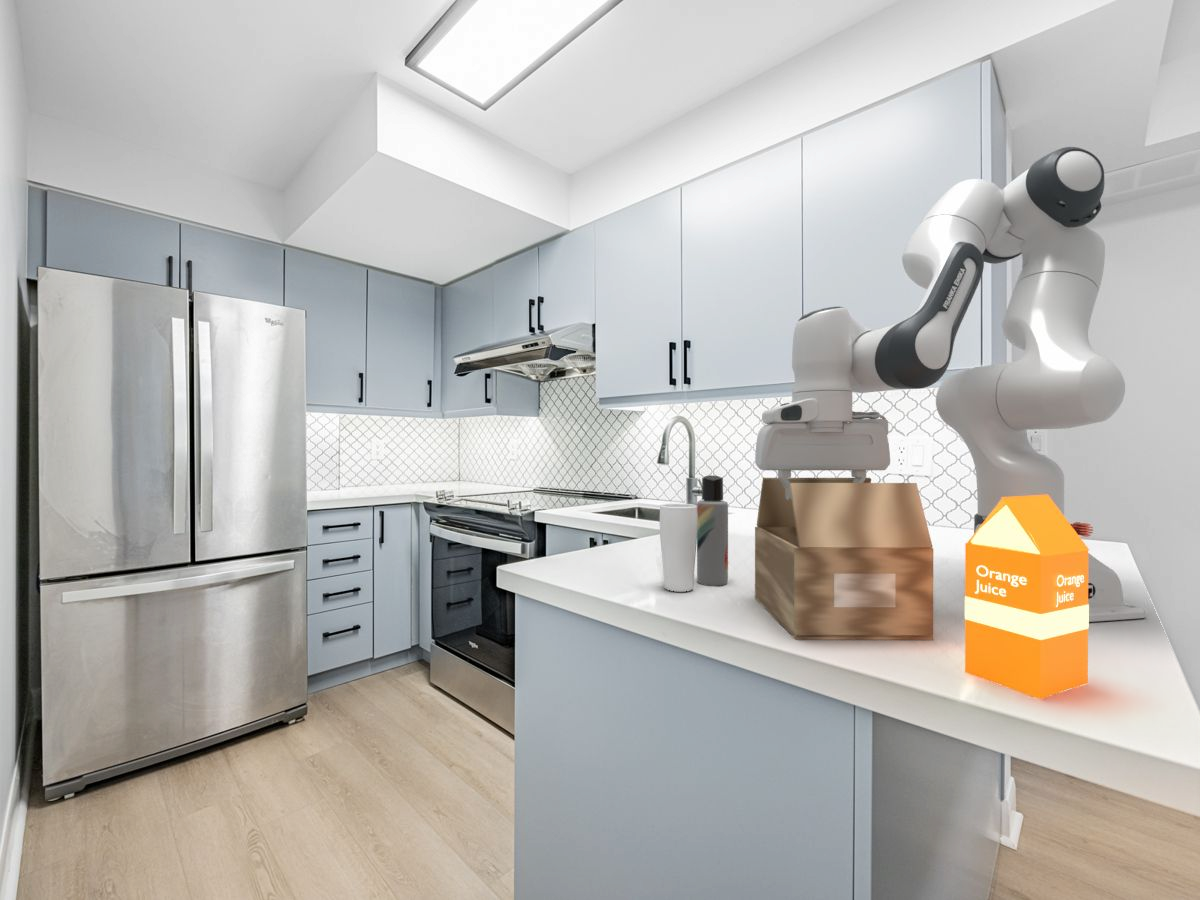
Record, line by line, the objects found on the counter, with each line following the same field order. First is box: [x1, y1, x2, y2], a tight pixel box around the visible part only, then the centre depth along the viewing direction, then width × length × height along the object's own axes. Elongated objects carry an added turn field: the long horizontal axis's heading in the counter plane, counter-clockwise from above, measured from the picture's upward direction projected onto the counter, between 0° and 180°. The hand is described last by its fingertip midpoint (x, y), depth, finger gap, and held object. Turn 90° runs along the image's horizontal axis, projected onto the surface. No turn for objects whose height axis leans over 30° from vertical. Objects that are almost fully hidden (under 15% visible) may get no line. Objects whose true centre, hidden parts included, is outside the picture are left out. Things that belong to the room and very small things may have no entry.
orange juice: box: [964, 495, 1090, 700], centre depth 61 cm, size 8×9×20 cm
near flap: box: [789, 482, 934, 549], centre depth 75 cm, size 17×9×1 cm
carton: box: [754, 526, 934, 641], centre depth 83 cm, size 18×20×12 cm
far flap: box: [756, 477, 872, 527], centre depth 91 cm, size 17×9×1 cm
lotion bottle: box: [696, 475, 729, 587], centre depth 104 cm, size 6×6×20 cm
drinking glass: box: [659, 503, 698, 593], centre depth 99 cm, size 7×7×15 cm
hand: (821, 499), depth 87 cm, fingers open, 8 cm apart
